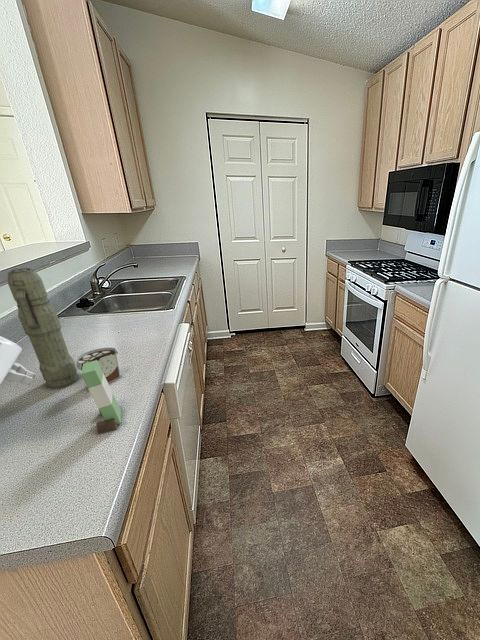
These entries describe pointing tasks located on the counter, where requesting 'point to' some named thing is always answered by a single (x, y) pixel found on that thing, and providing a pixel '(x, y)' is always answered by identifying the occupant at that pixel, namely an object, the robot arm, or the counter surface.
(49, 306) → the moai statue
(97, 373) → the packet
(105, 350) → the cake slice
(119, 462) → the counter surface
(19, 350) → the robot arm
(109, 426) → the stand
